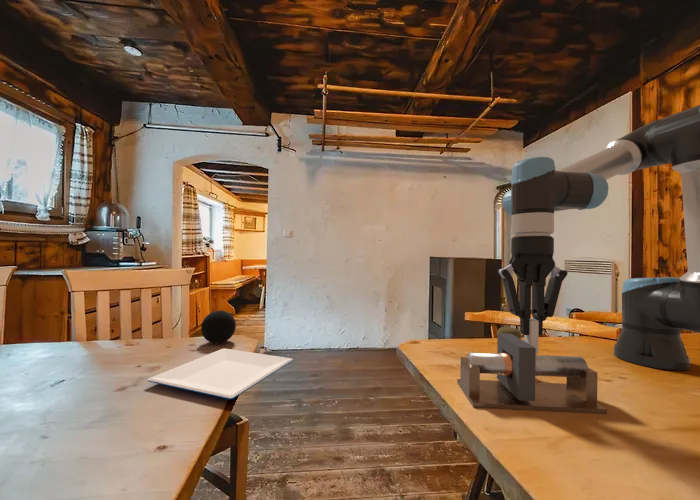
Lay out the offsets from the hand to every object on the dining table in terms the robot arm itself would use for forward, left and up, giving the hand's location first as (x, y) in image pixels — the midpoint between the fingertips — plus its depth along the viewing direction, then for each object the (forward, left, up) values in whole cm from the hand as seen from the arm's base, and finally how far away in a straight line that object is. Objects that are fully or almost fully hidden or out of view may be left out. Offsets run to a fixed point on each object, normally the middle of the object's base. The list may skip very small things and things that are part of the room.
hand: (531, 350), depth 63 cm
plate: (+66, -4, -10) cm, 67 cm away
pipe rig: (+1, 0, -9) cm, 9 cm away
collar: (+3, 0, -8) cm, 9 cm away
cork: (-1, -13, -10) cm, 16 cm away
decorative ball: (+80, -28, -10) cm, 86 cm away
